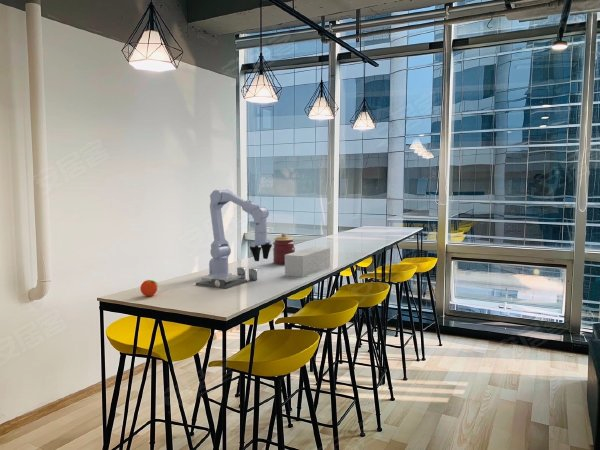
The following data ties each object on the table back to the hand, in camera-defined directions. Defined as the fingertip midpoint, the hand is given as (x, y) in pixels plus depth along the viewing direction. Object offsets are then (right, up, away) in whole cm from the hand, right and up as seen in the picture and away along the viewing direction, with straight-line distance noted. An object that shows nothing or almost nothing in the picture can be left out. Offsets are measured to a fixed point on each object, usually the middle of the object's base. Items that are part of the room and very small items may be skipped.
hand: (261, 259), depth 232 cm
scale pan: (-18, -9, -7) cm, 21 cm away
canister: (+10, -6, +49) cm, 50 cm away
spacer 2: (-4, -10, 0) cm, 11 cm away
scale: (-18, -11, -6) cm, 22 cm away
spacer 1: (-10, -10, +4) cm, 14 cm away
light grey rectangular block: (+24, -8, +23) cm, 34 cm away
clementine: (-45, -14, -29) cm, 55 cm away
